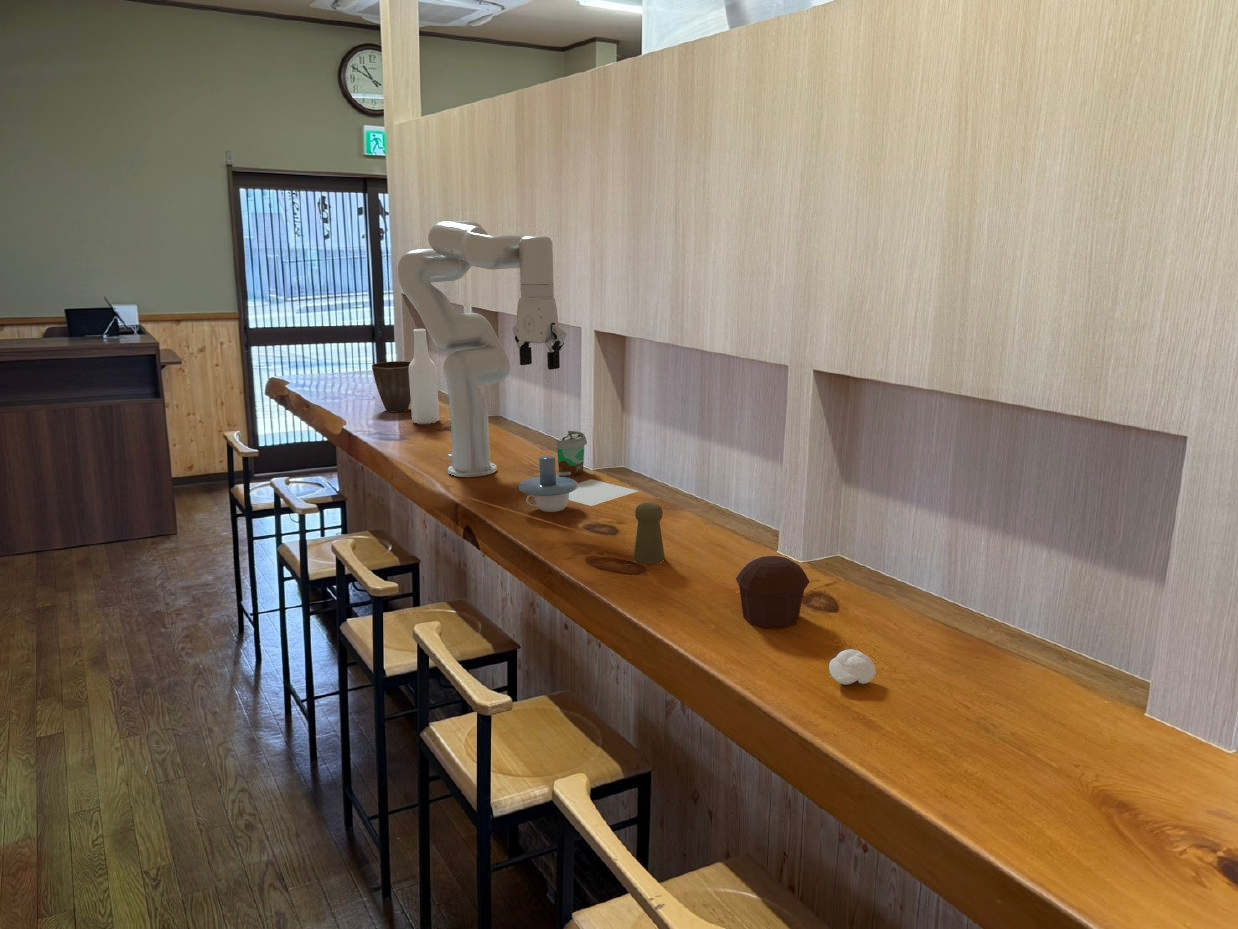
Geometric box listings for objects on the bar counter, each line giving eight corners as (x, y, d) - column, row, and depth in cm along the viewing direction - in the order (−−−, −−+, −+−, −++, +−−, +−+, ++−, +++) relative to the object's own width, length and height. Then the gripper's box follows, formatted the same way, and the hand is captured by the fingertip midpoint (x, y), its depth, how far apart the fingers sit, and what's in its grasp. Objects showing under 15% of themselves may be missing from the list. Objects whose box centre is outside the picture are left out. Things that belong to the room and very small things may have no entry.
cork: (668, 563, 178) (667, 507, 175) (636, 566, 177) (635, 510, 174) (661, 552, 184) (661, 498, 181) (630, 555, 183) (630, 500, 180)
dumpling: (856, 669, 135) (858, 644, 134) (883, 684, 131) (884, 658, 130) (819, 681, 132) (820, 655, 131) (844, 697, 128) (845, 670, 127)
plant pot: (428, 407, 330) (425, 362, 326) (402, 415, 317) (398, 368, 313) (393, 404, 336) (389, 360, 332) (366, 412, 323) (362, 366, 319)
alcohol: (411, 420, 310) (404, 328, 302) (438, 418, 312) (432, 327, 305) (413, 425, 302) (406, 331, 294) (441, 423, 304) (435, 330, 297)
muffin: (751, 636, 146) (753, 576, 144) (724, 609, 157) (725, 552, 154) (820, 626, 150) (823, 567, 147) (789, 600, 160) (791, 544, 157)
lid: (506, 488, 210) (505, 458, 208) (550, 476, 219) (549, 448, 217) (545, 499, 201) (544, 468, 200) (589, 486, 210) (588, 457, 209)
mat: (543, 494, 224) (543, 493, 224) (591, 480, 235) (591, 479, 235) (591, 507, 213) (591, 506, 213) (639, 492, 224) (639, 491, 224)
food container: (581, 480, 235) (580, 441, 233) (557, 479, 236) (556, 440, 234) (592, 468, 247) (591, 430, 244) (569, 467, 248) (568, 430, 245)
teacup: (561, 503, 217) (561, 480, 216) (575, 512, 210) (574, 488, 209) (520, 509, 213) (519, 486, 211) (533, 518, 206) (532, 495, 205)
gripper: (500, 291, 217) (503, 364, 222) (550, 294, 206) (552, 372, 210) (525, 289, 223) (527, 361, 227) (575, 292, 211) (577, 368, 215)
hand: (539, 366), depth 219 cm, fingers open, 9 cm apart
